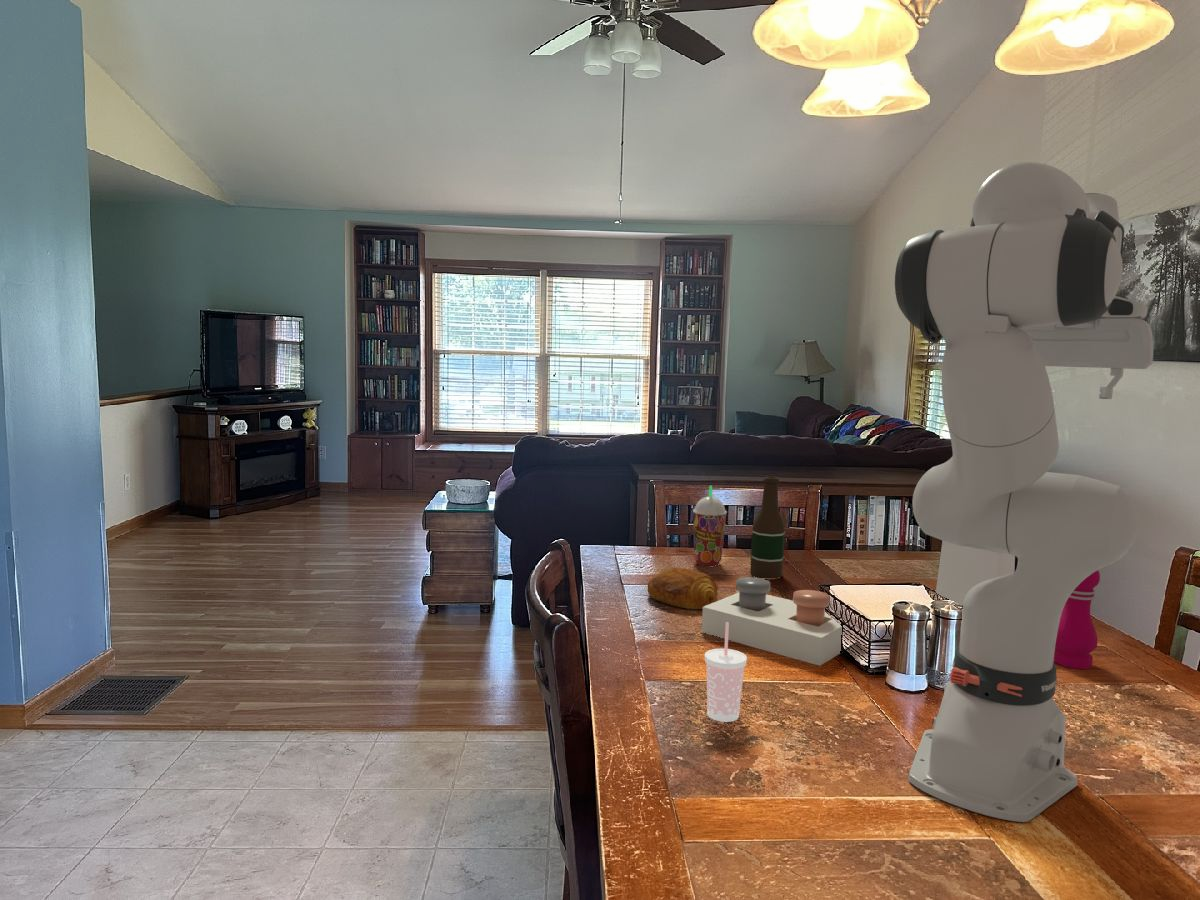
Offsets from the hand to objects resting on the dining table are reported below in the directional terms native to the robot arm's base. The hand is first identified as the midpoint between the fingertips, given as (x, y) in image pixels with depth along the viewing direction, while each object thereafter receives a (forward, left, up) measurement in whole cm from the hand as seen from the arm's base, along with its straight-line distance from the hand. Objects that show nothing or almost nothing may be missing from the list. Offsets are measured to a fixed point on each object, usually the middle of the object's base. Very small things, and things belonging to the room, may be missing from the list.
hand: (1070, 397), depth 127 cm
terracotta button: (-7, +37, -44) cm, 58 cm away
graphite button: (-7, +49, -44) cm, 67 cm away
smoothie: (+29, +82, -48) cm, 99 cm away
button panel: (-7, +43, -47) cm, 64 cm away
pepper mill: (+18, -1, -48) cm, 51 cm away
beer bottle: (+30, +66, -48) cm, 87 cm away
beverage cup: (-43, +33, -48) cm, 73 cm away
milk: (+30, +19, -48) cm, 59 cm away
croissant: (0, +69, -48) cm, 84 cm away
